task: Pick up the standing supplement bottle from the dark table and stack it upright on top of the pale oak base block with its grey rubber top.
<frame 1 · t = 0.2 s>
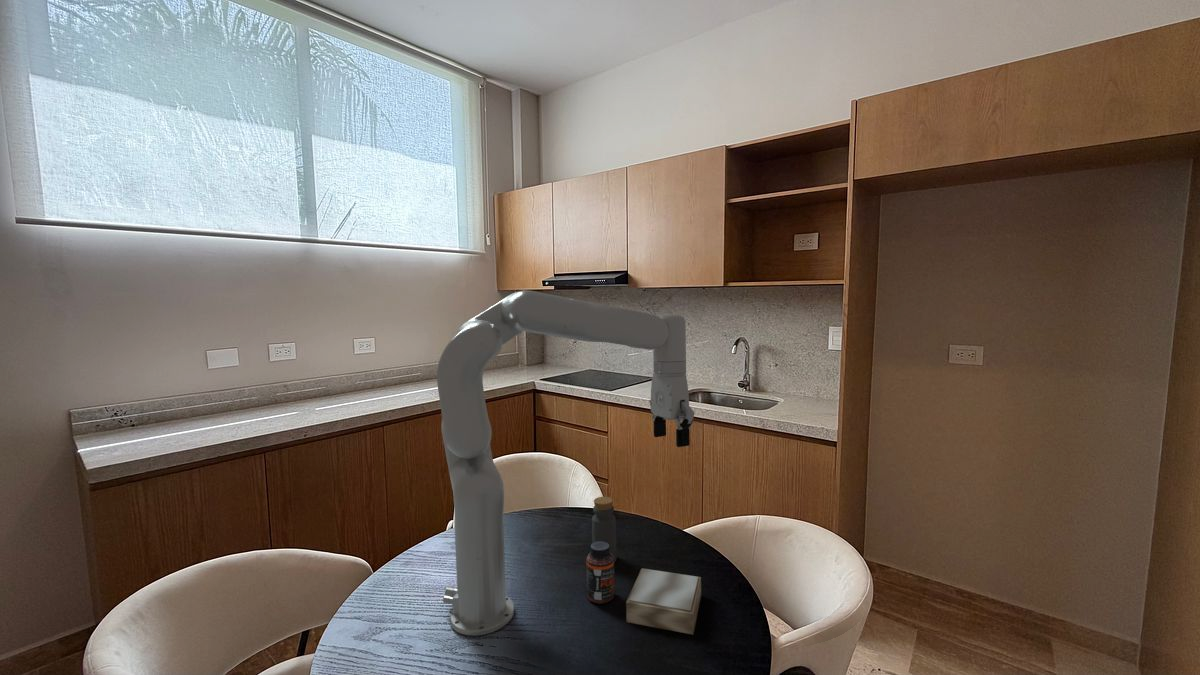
hand: (671, 441, 111), 31 cm above the table, tool pointing down, fingers open, 9 cm apart
supplement bottle: (600, 597, 102), on the table
bottle: (604, 560, 118), on the table
oak base: (665, 608, 98), on the table
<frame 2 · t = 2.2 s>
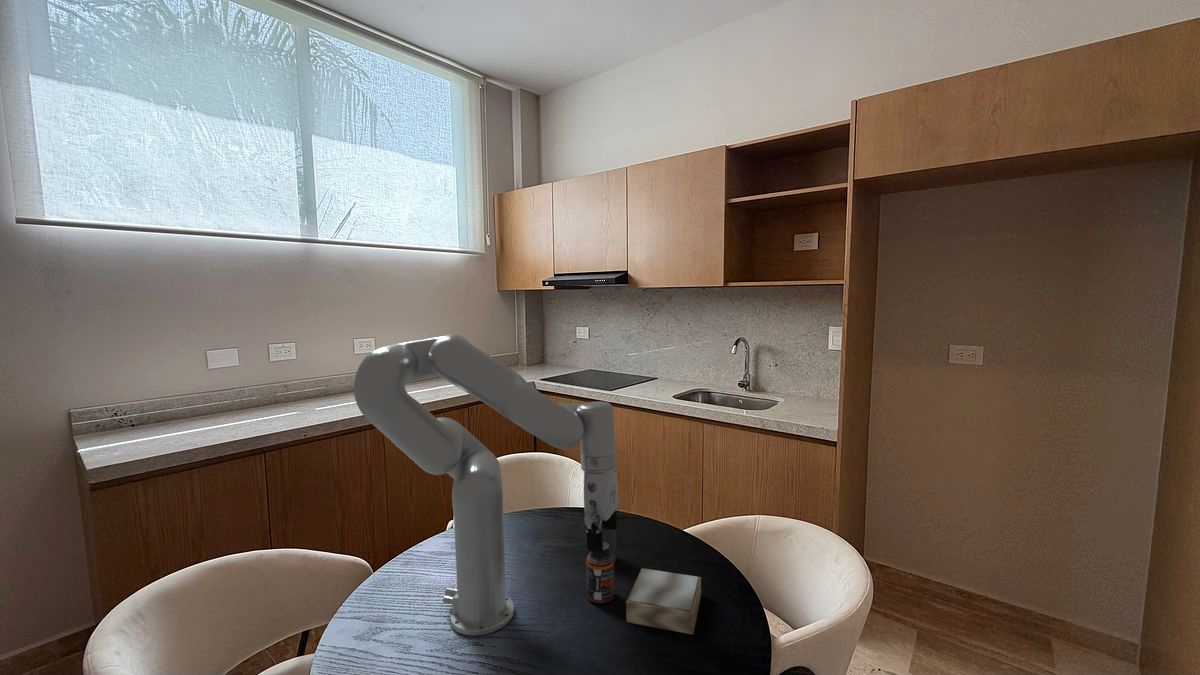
hand: (602, 539, 102), 13 cm above the table, tool pointing down, fingers open, 9 cm apart
nothing on the table moved.
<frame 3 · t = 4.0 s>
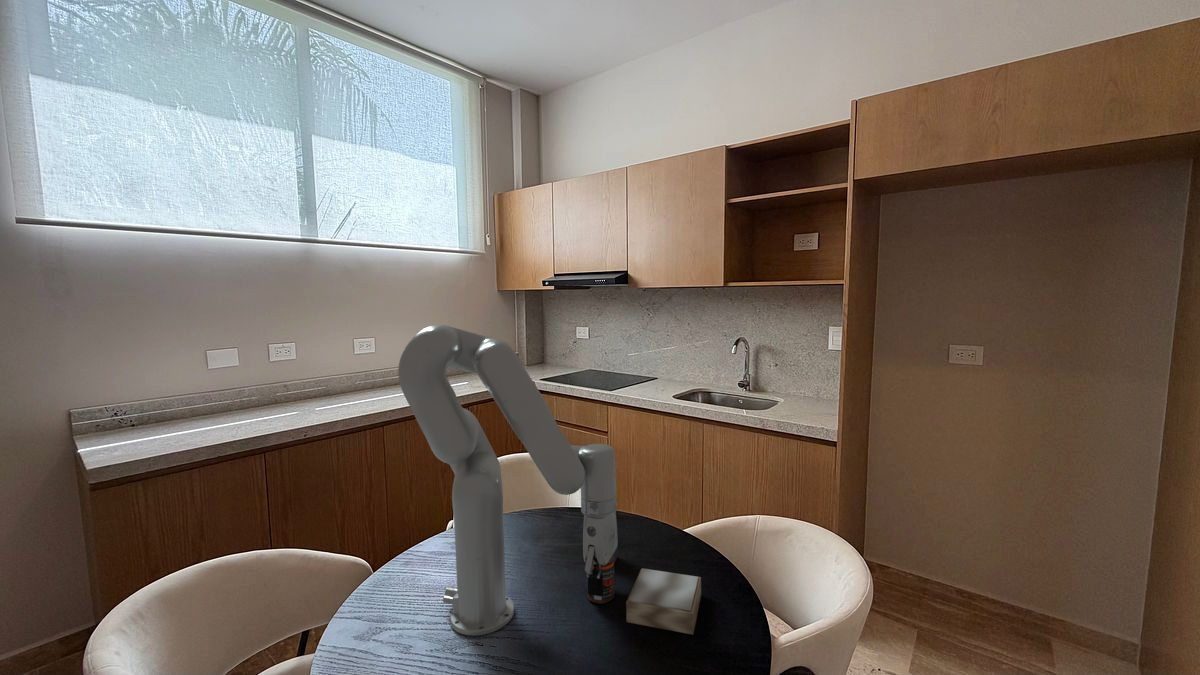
hand: (600, 585, 102), 3 cm above the table, tool pointing down, fingers closed on supplement bottle, 6 cm apart
supplement bottle: (600, 597, 102), on the table, touching gripper
everything else where it was.
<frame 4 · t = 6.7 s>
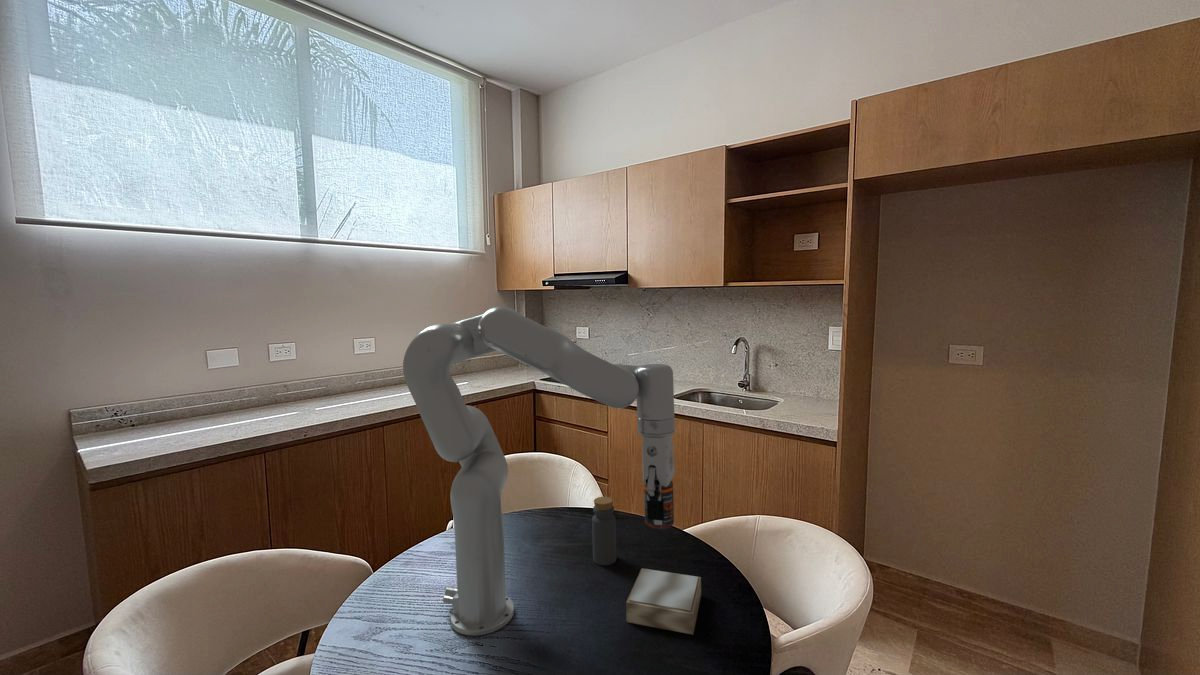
hand: (659, 511, 97), 20 cm above the table, tool pointing down, fingers closed on supplement bottle, 6 cm apart
supplement bottle: (659, 524, 97), point 17 cm above the table, touching gripper
everything else where it was.
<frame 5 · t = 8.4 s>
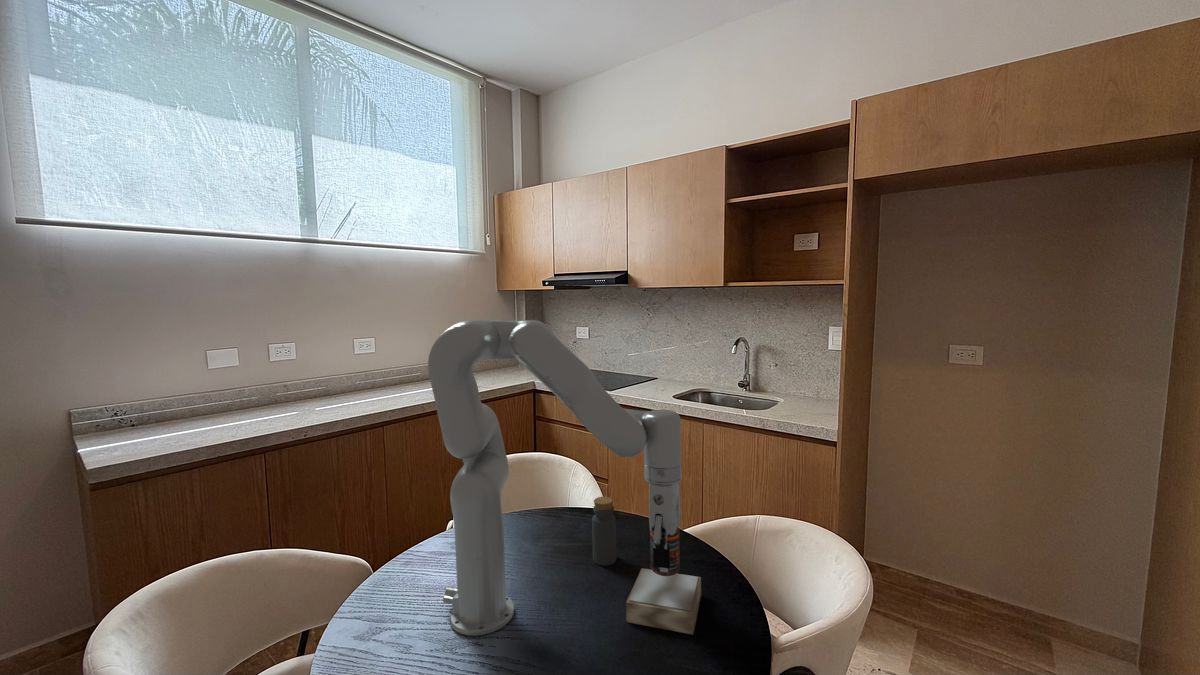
hand: (664, 557, 97), 11 cm above the table, tool pointing down, fingers closed on supplement bottle, 6 cm apart
supplement bottle: (665, 570, 97), point 8 cm above the table, touching gripper
everything else where it was.
when the fingers open (8 cm above the table, at t = 9.7 s): supplement bottle drops 1 cm, resting on oak base.
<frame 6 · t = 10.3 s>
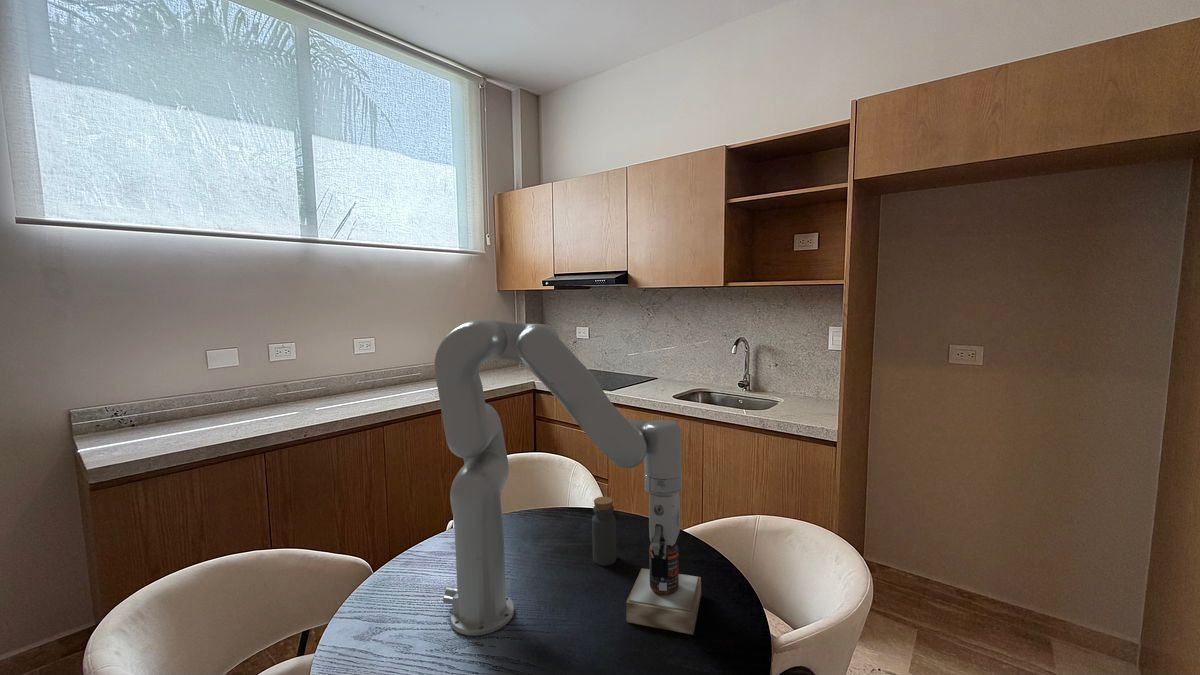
hand: (664, 564, 97), 9 cm above the table, tool pointing down, fingers open, 9 cm apart
supplement bottle: (664, 588, 98), point 4 cm above the table, touching oak base
everything else where it was.
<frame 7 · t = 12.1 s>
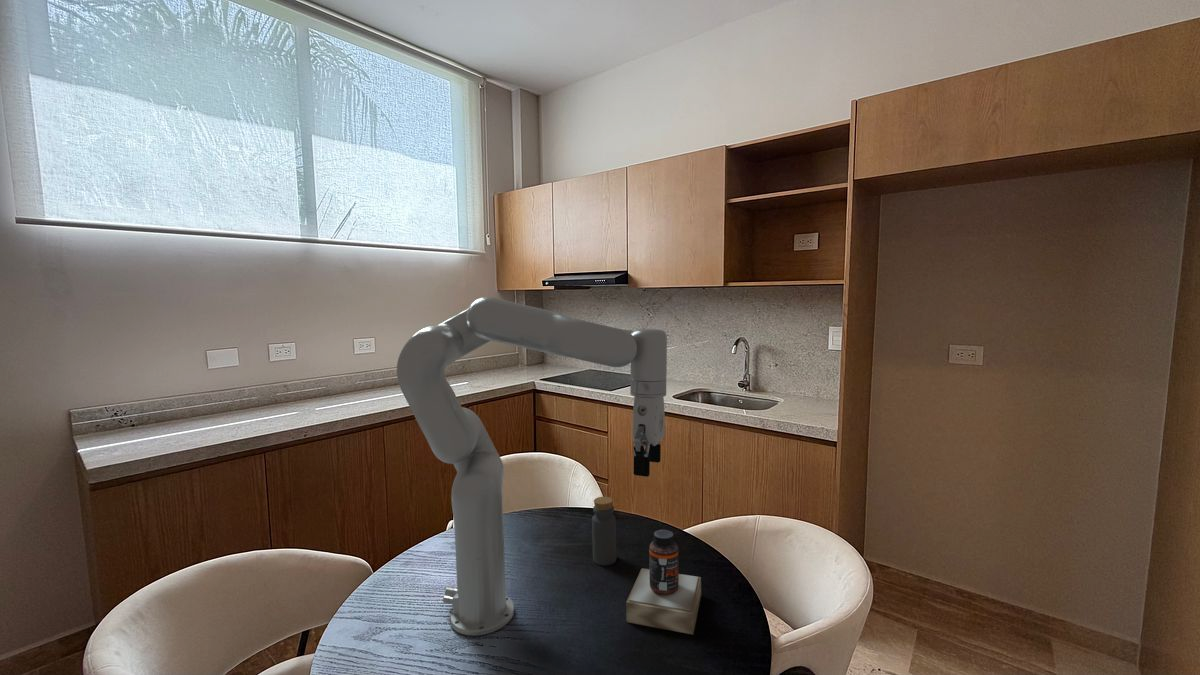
hand: (647, 468, 101), 28 cm above the table, tool pointing down, fingers open, 9 cm apart
nothing on the table moved.
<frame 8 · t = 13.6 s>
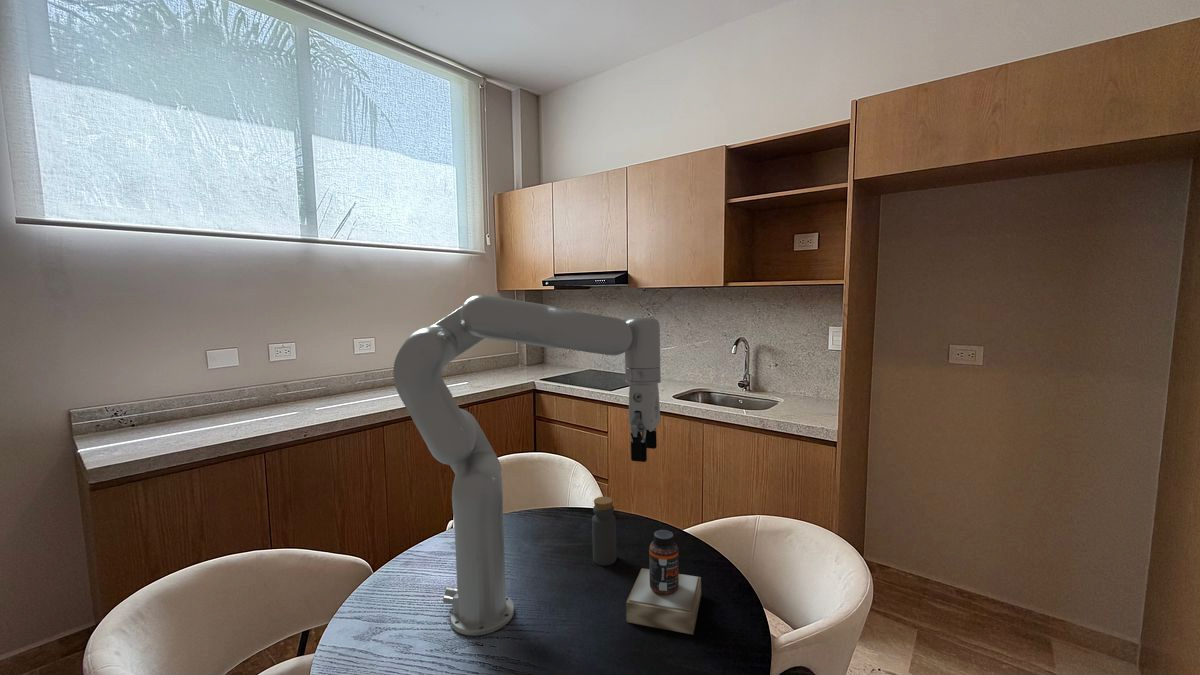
hand: (644, 454, 103), 30 cm above the table, tool pointing down, fingers open, 9 cm apart
nothing on the table moved.
at the end: supplement bottle inside the target area on the oak base (0.2 cm from its centre), point 4.1 cm above the oak base's base; supplement bottle tilted 0°; the gripper is holding nothing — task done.
